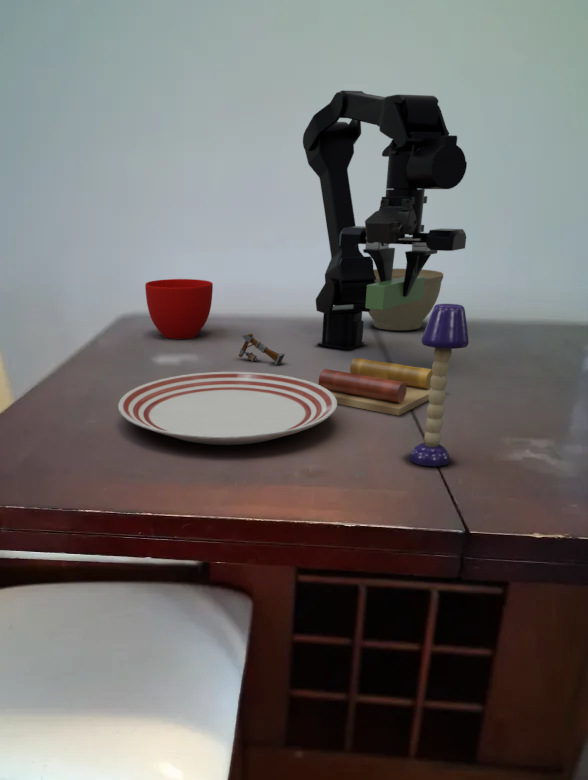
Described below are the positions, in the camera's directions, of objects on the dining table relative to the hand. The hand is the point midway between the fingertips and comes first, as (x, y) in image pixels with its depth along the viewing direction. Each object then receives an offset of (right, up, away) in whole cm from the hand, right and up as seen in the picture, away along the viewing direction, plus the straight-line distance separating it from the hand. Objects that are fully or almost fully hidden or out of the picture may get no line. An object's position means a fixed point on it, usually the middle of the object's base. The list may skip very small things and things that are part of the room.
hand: (395, 295), depth 119 cm
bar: (0, -1, 0) cm, 1 cm away
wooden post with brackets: (-21, -10, +7) cm, 24 cm away
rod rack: (-6, -18, -13) cm, 23 cm away
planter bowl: (+9, +3, +35) cm, 36 cm away
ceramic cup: (-34, +1, +29) cm, 45 cm away
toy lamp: (-6, -29, -37) cm, 47 cm away
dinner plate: (-28, -23, -24) cm, 43 cm away
